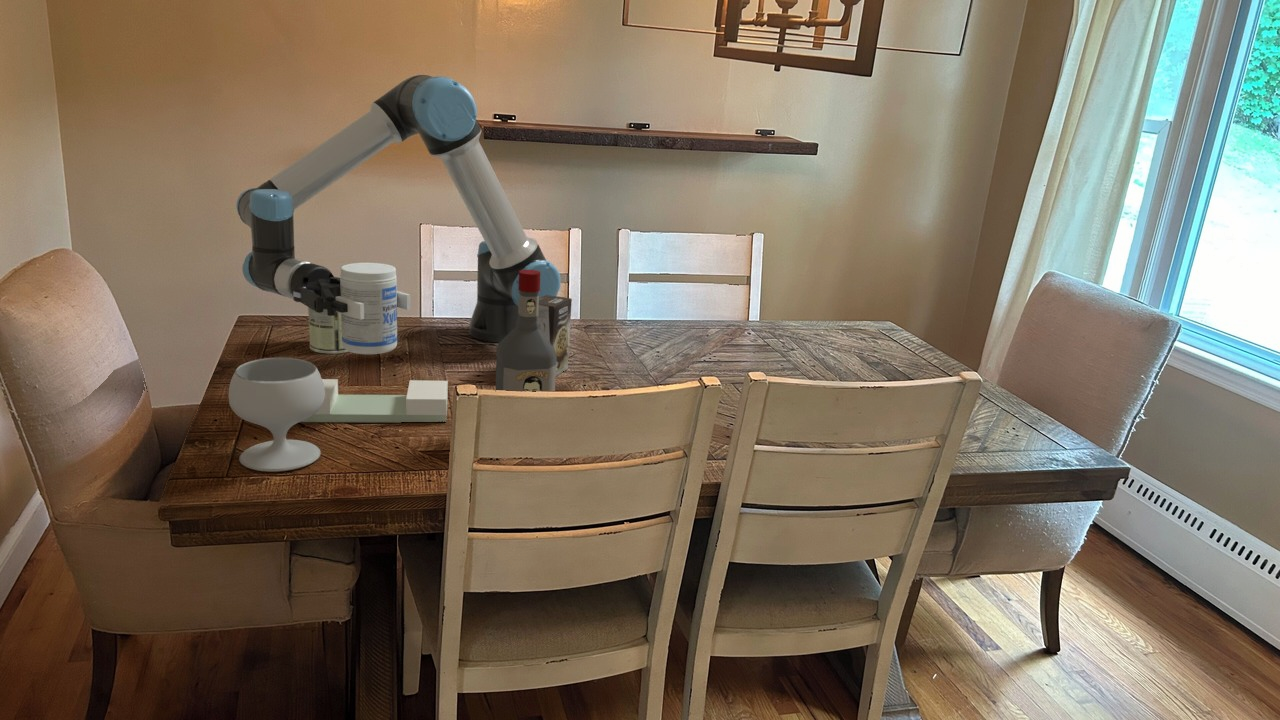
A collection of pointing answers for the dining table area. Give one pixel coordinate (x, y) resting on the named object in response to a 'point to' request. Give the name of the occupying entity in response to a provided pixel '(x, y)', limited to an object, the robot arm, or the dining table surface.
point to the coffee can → (325, 332)
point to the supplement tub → (370, 307)
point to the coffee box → (556, 326)
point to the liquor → (526, 345)
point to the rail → (385, 404)
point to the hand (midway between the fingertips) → (386, 306)
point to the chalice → (277, 409)
